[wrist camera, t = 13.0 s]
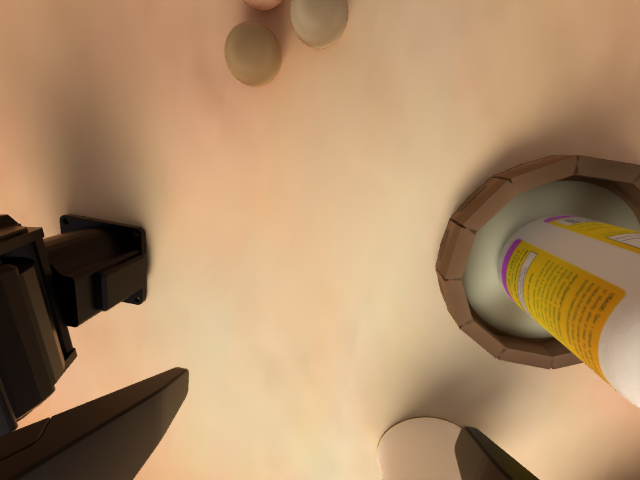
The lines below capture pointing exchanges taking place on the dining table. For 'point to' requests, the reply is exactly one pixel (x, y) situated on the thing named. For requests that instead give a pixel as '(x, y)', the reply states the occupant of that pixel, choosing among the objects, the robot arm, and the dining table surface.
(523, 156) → the dining table surface
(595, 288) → the supplement bottle
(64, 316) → the robot arm
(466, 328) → the faceted wooden bowl
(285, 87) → the dining table surface
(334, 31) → the bead maple
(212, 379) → the dining table surface
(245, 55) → the bead honey
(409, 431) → the mug
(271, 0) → the pinkish tan ball
